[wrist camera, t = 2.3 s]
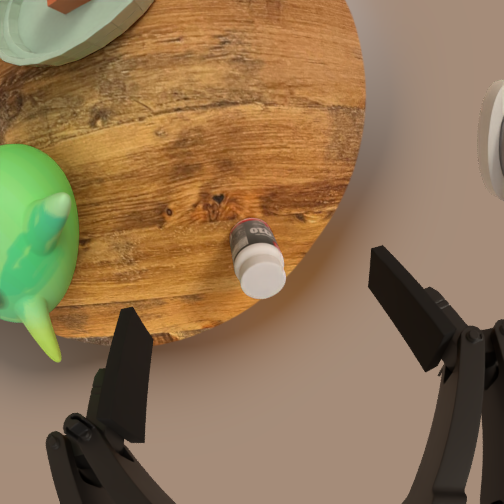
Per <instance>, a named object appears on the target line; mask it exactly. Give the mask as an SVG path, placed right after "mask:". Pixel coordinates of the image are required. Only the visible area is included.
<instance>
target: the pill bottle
mask: <svg viewBox="0 0 504 504" xmlns="http://www.w3.org/2000/svg"><path fill="white" fill-rule="evenodd" d="M230 247H231V253H232V259H233V265H234V271H235V274H236V276H237V278H238V279H239V281H240V284H241V288H242V290H243V291H244V293H245V294H246V295H248V296H249V297H252V298H256V299H265V298H269V297H271V296H273V295H275V294H277V293H278V292H279V291H280V290H281V289H282V288H283V286H284V284H285V280H286V275H285V271H284V269H283V268H284V259H283V255H282V253H281V251H280V249H279V247H278V244H277V242H276V240H275V238H274V236H273V233H272V231H271V229H270V227H269V226H268V225H267V224H266V223H265V222H264V221H262V220H260V219H257V218H247V219H244V220H242V221H240V222H238V223H237V224H236V225H235V226H234V227H233V228H232V230H231V233H230Z"/></svg>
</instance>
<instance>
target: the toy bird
mask: <svg viewBox="0 0 504 504" xmlns="http://www.w3.org/2000/svg"><path fill="white" fill-rule="evenodd" d="M78 247H79V220H78V212H77V206H76V202H75V198H74V194H73V191H72V188H71V186H70V183H69V181H68V179H67V177H66V176H65V174H64V172H63V171H62V169H61V168H60V167H59V165H58V164H57V163H56V162H55V161H54V160H53V159H52V158H51V157H49V156H48V155H47V154H45V153H44V152H42V151H41V150H39V149H36V148H34V147H31V146H28V145H23V144H6V145H1V146H0V319H2V320H5V321H9V322H17V323H22V322H23V324H24V325H25V326H26V328H27V329H28V331H29V332H30V334H31V335H32V336H33V338H34V339H35V340H36V342H37V343H38V344H39V346H40V347H41V348H42V349H43V351H44V352H45V353H46V354H47V355H48V356H49V357H50V358H51V359H52V360H53V361H55V362H60V361H61V352H60V349H59V345H58V342H57V339H56V336H55V333H54V330H53V326H52V323H51V320H50V317H49V312H51V311H52V310H53V309H54V308H55V307H56V306H57V305H58V304H59V303H60V301H61V300H62V298H63V297H64V295H65V293H66V292H67V290H68V288H69V285H70V283H71V280H72V277H73V274H74V270H75V266H76V261H77V256H78Z"/></svg>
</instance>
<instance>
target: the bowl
mask: <svg viewBox="0 0 504 504" xmlns="http://www.w3.org/2000/svg"><path fill="white" fill-rule="evenodd" d="M153 1H154V0H91V1H89V2H87V3H85V4H83V5H81V6H80V7H78V8H76V9H74V10H72V11H71V12H69V13H67V14H66V15H65V14H63V13H61V12H59V11H57V10H54V9H52V8H50V7H48V6H47V0H0V58H1V59H2V60H3V61H4V62H7V63H11V64H15V65H18V66H35V67H49V66H61V65H64V64H67V63H70V62H73V61H77V60H80V59H82V58H83V57H85V56H87V55H89V54H91V53H93V52H95V51H97V50H99V49H101V48H103V47H104V46H106V45H107V44H108V43H110V42H111V41H112V40H114V39H115V38H117V37H118V36H119V35H121V34H122V33H124V32H125V31H126V30H127V29H128V28H129V27H130V26H131V25H132V24H133V23H134V22H135V21H136V20H137V19H138V18H140V17H141V16H142V15H143V14H144V13H145V12H146V10H147V9H148V8H149V6H150V5H151V4H152V2H153Z"/></svg>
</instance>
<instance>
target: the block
mask: <svg viewBox="0 0 504 504" xmlns="http://www.w3.org/2000/svg"><path fill="white" fill-rule="evenodd" d="M89 1H91V0H47V6H48V7H50V8H52V9H54V10H57V11H59V12H61V13H63V14H65V15H66V14H67V13H69V12H71V11H72V10H74V9H76V8H78V7H80V6H81V5H83V4H85V3H87V2H89Z"/></svg>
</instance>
